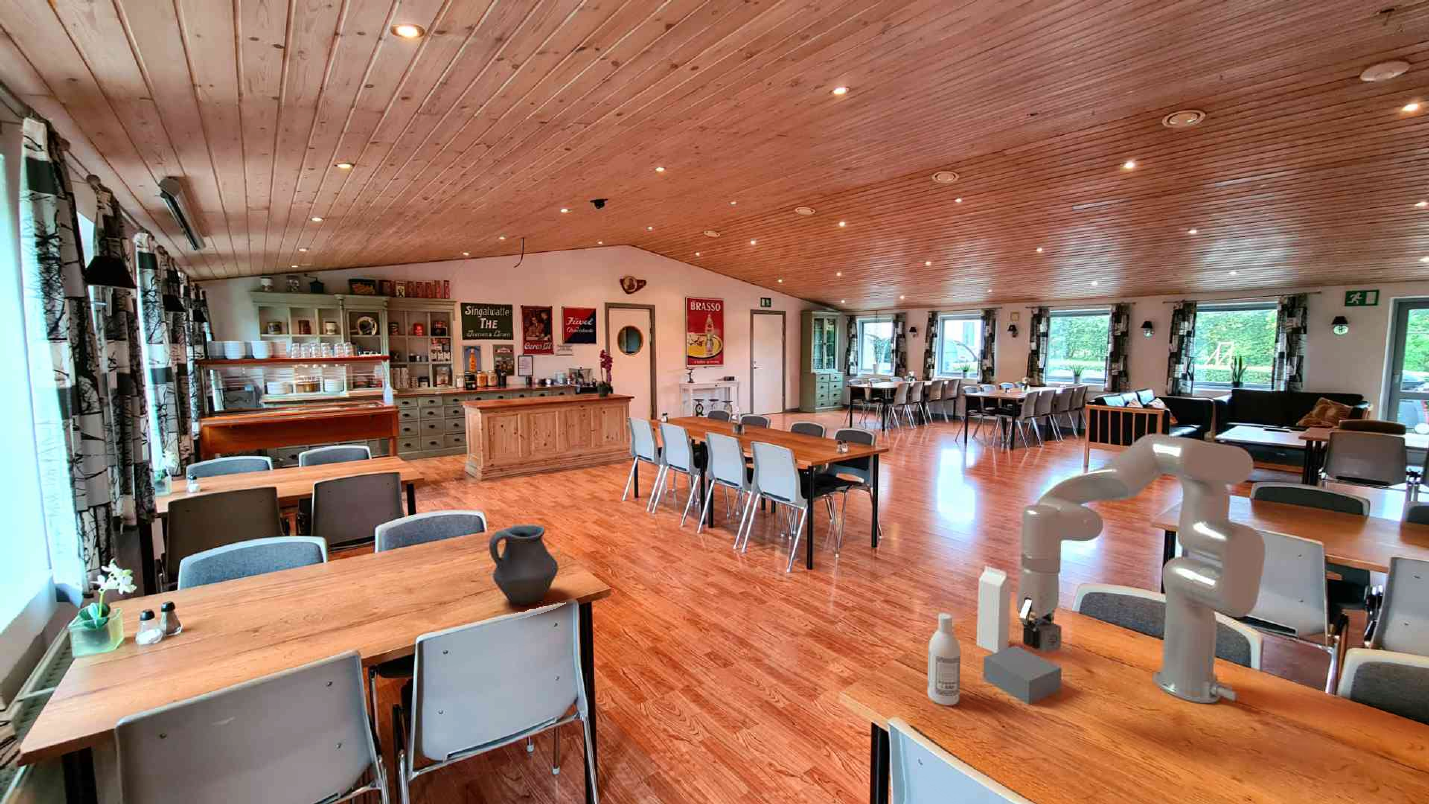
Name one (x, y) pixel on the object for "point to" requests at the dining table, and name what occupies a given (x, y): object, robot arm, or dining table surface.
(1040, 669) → the grey block
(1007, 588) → the milk
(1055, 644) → the dice cube
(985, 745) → the dining table surface
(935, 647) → the bath foam
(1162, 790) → the dining table surface
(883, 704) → the dining table surface
